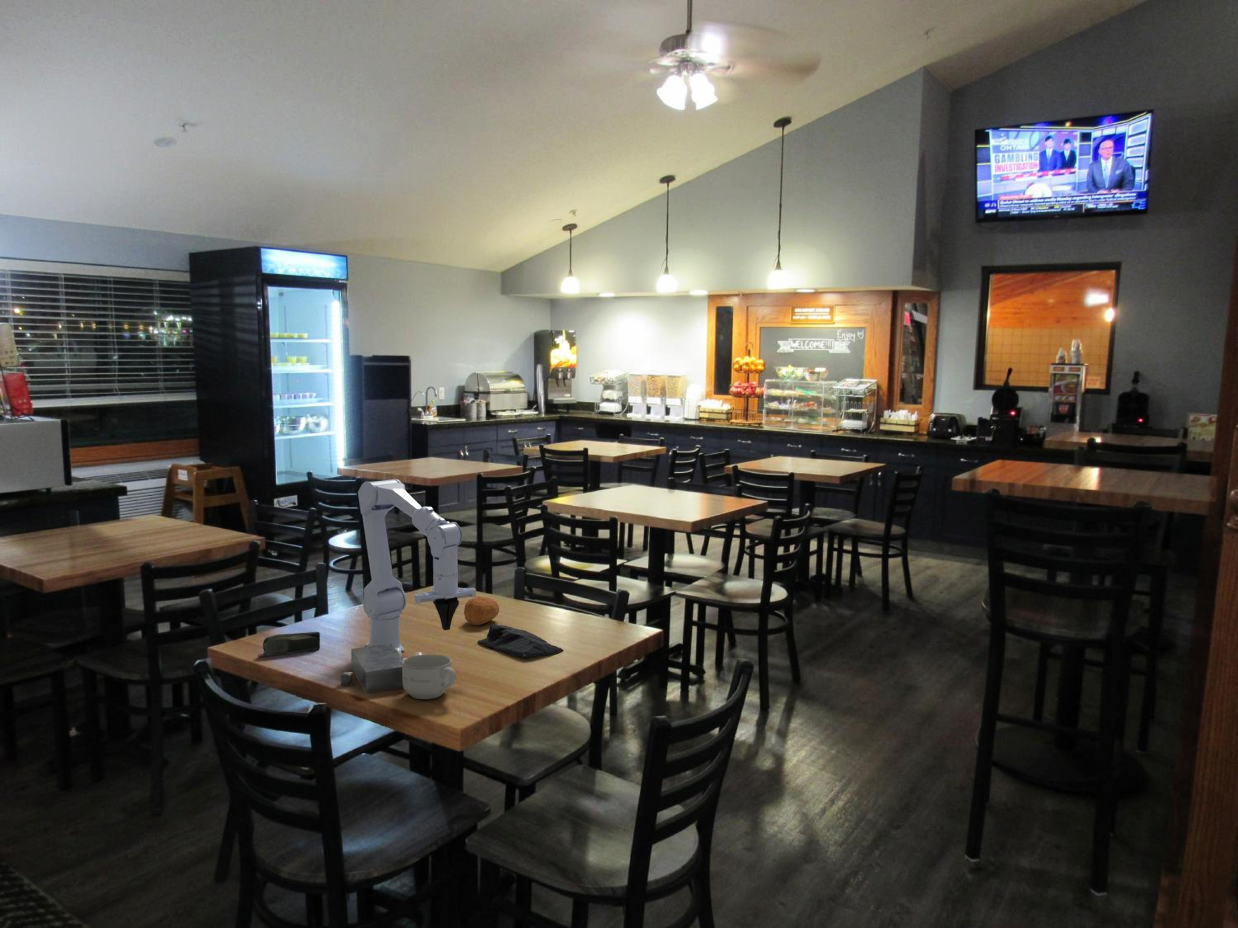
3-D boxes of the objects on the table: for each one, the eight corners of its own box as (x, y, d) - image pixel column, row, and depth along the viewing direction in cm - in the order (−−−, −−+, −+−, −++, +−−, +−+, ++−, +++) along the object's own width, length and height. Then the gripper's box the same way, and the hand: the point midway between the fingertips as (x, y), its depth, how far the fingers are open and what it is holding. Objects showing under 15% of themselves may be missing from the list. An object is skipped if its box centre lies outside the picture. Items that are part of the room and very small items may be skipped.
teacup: (393, 694, 189) (392, 659, 188) (435, 682, 196) (434, 648, 195) (426, 712, 179) (426, 675, 178) (469, 698, 186) (469, 663, 185)
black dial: (339, 682, 195) (339, 672, 195) (352, 681, 196) (352, 670, 196) (341, 686, 193) (341, 675, 192) (354, 684, 194) (354, 674, 194)
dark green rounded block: (319, 629, 220) (256, 635, 213) (321, 632, 218) (258, 639, 210) (319, 648, 221) (256, 655, 213) (321, 651, 218) (258, 658, 211)
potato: (455, 623, 243) (455, 598, 242) (484, 615, 252) (483, 590, 251) (478, 629, 237) (478, 603, 236) (506, 620, 246) (506, 595, 245)
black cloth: (518, 665, 210) (518, 646, 209) (473, 643, 226) (473, 626, 226) (568, 653, 219) (568, 635, 219) (521, 633, 236) (521, 616, 236)
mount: (351, 668, 205) (351, 648, 204) (391, 662, 209) (391, 643, 208) (366, 693, 189) (366, 671, 188) (409, 686, 193) (408, 665, 193)
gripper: (419, 580, 196) (420, 637, 197) (479, 574, 203) (480, 629, 204) (412, 573, 202) (412, 629, 204) (470, 568, 209) (471, 621, 210)
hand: (446, 628), depth 204 cm, fingers closed
